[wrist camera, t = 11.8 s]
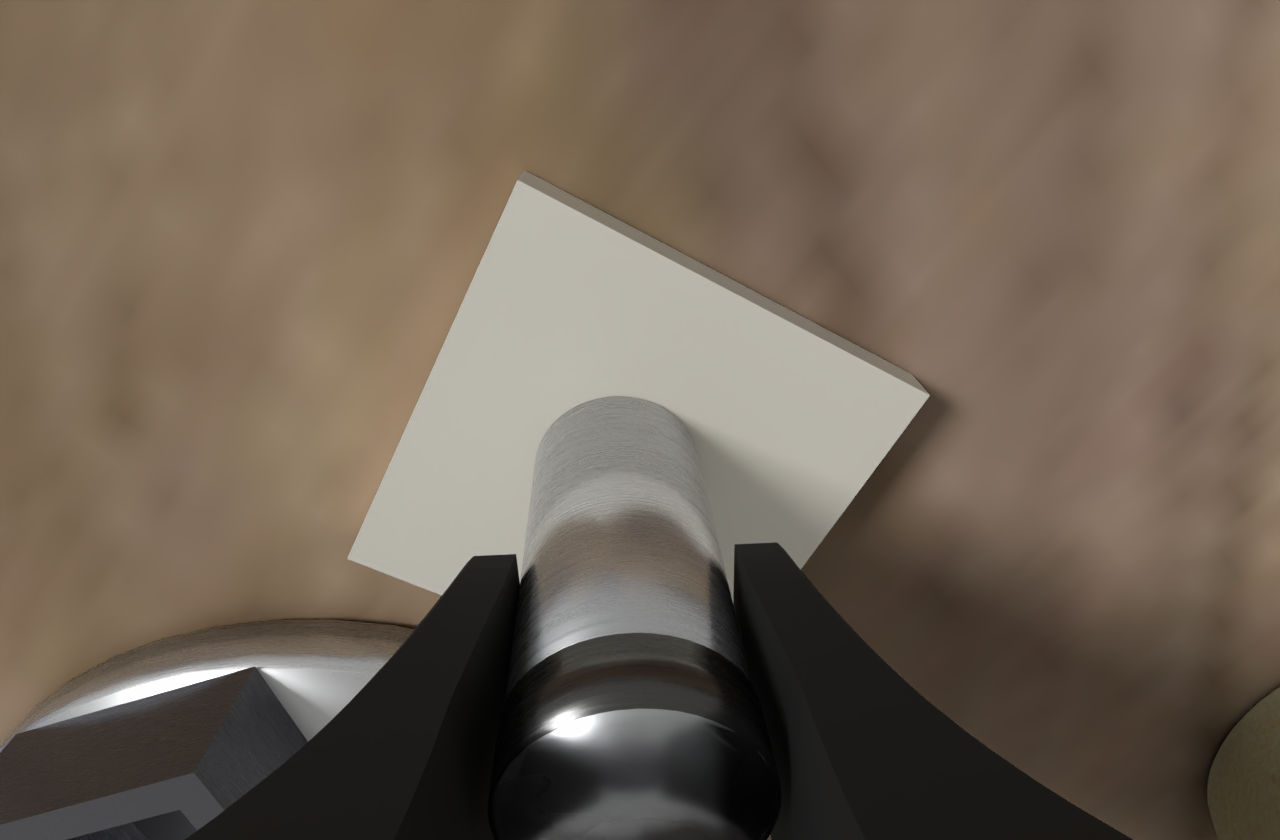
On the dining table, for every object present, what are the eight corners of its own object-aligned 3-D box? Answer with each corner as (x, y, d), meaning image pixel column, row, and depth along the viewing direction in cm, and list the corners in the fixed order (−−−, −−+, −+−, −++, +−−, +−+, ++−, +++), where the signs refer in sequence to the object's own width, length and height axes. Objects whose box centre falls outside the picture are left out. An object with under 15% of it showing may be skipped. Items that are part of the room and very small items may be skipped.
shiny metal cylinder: (535, 540, 15) (496, 906, 9) (528, 393, 14) (476, 709, 8) (696, 537, 15) (766, 894, 9) (706, 393, 14) (797, 700, 8)
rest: (362, 529, 16) (347, 558, 15) (524, 170, 13) (517, 180, 12) (701, 664, 18) (705, 697, 17) (911, 374, 15) (929, 395, 14)
